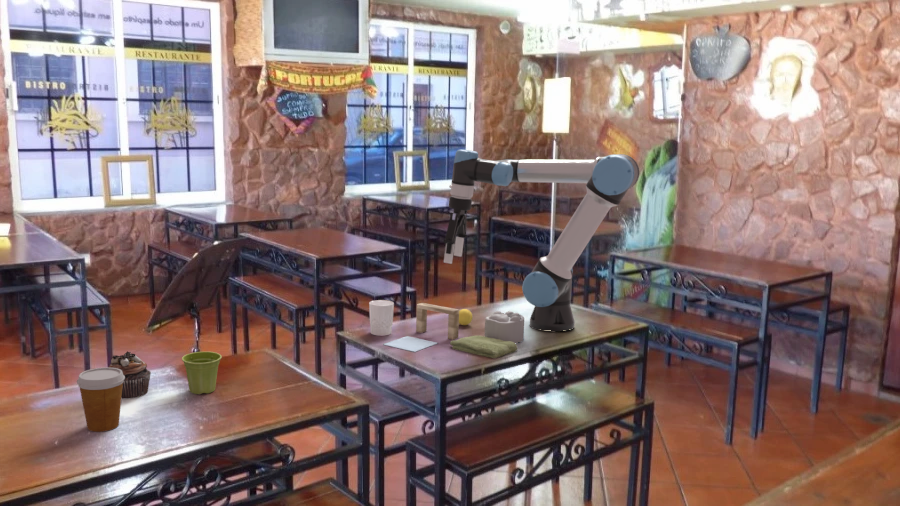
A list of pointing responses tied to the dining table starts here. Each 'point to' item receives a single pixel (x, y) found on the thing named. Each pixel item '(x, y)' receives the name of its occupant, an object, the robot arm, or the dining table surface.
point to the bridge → (452, 317)
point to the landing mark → (410, 344)
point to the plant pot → (201, 371)
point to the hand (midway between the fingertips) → (452, 259)
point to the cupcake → (132, 375)
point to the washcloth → (484, 346)
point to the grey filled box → (505, 326)
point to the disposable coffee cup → (101, 397)
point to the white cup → (381, 317)
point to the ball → (465, 317)
